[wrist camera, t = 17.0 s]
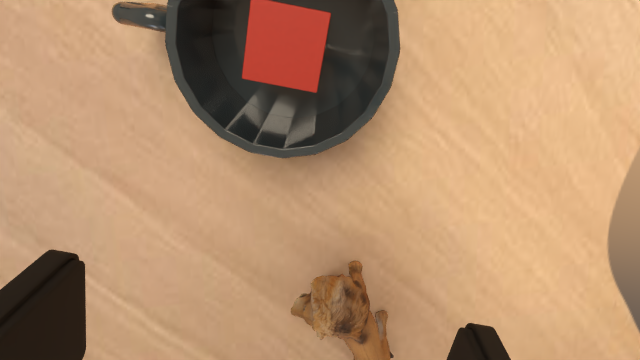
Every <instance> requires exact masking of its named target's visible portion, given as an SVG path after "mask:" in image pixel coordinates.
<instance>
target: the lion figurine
mask: <svg viewBox="0 0 640 360" xmlns="http://www.w3.org/2000/svg"><path fill="white" fill-rule="evenodd" d="M361 272H362V264H361V263H360V262H358V261H353V262H351V263H350V264H349V274H350V275H351V277H352V278H351V277H350V276H349V277H346V276H344V275H343V274H341V275H340V276H337V277H336V276H326V277H325V276H320V277H317V278H316V279H314V280H313V281H312V283H311V293H310V294H301V295H300V298H297V299H296V300H295V302H294V305H293V307H292V308H291V314H292V315H294V316H298V317H301V318H303V319H305V321H306V323H307V324H309V325H311V326H312V328H313V330H314V331H316V333H317V337H318V338H319V339H320V340H322V339H323V338H324V337H325V336H331V337H337V336H338V338H340V339H344V341H345V342H346V344H347V346H348V347H349V349H350V350H351V351H352V353H353V355H354V360H390V358H393V357H394V356H393V355H392V354H391V352H390V350H389V345H388V341H387V338H386V322H387V318H388V314H387V312H386V311H384V310H382V311H379V312H377V313H376V320H377V323H378V328H377V325H376V322H375V319H374V317H373V315H372V313H371V311H370V308H369V307H370V303H369V298H368V295H367V293H366V286H365V284H364V280H363V278H362V274H361Z"/></svg>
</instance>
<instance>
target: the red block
mask: <svg viewBox="0 0 640 360" xmlns="http://www.w3.org/2000/svg"><path fill="white" fill-rule="evenodd" d="M330 18H331V13H330V12H325V11H320V10H315V9H310V8H305V7H300V6H295V5H290V4H285V3H280V2H275V1H271V0H251V1H250V10H249V18H248V27H247V36H246V45H245V54H244V62H243V71H242V79H246V80H251V81H257V82H262V83H267V84H272V85H278V86H283V87H288V88H293V89H299V90H304V91H309V92H315V93H316V92H317V89H318V83H319V78H320V72H321V67H322V61H323V56H324V50H325V45H326V39H327V34H328V28H329V23H330Z"/></svg>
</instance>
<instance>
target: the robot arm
mask: <svg viewBox="0 0 640 360" xmlns="http://www.w3.org/2000/svg"><path fill="white" fill-rule="evenodd" d="M85 350H86V309H85V264H84V262H83V261H79V257H78V255H77V254H74V253H68V252H63V251H57V250H49V251H47V252H46V253H44V254H43V255H42V256H41V257H40V258H38V259H37V260H36V261H35V262H33V263H32V264H31V265H30V266H29V267H27V268H26V269H25V270H24V271H23V272H21V273H20V274H19V275H18V276H17V277H15V278H14V279H13V280H12V281H10V282H9V283H8V284H7V285H6V286H4V287H3V288H2V289H1V290H0V360H82V359H83V357H84V354H85ZM447 360H511V359H510V357H509V355H508V353H507V352H506V350H505V348H504V346H503V344H502V342H501V340H500V338H499V336H498V335H497V333H496V331H495V330H494V328H492V327H490V326H484V325H479V324H473V323H468V324H467V325H466V327H465V328H460V329H459V330H458V332H457V334H456V337H455V340H454V342H453V345H452V347H451V350H450V352H449V355H448V357H447Z"/></svg>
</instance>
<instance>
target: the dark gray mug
mask: <svg viewBox="0 0 640 360" xmlns="http://www.w3.org/2000/svg"><path fill="white" fill-rule="evenodd" d="M250 1H251V0H168V3H167V4H168V5H167V6H165V5H160V4H155V3H136V2H118V3H116V4H115V5H114V6H113V8H112V15H113V17H114V19H115V20H116V21H117V22H119V23H121V24H125V25H130V26H135V27H140V28H145V29H150V30H156V31H161V32H166V35H165V43H166V49H167V53H168V57H169V61H170V65H171V69H172V72H173V76H174V80H175V82H176V84H177V86H178V87H179V89H180V91H181V92H182V94H183V96H184V97H185V99H186V101H187V102H188V104H189V106H190V108H191V109H192V111H193V112H194V113H195V114H196V115H197V116H198V117H199V118H200V119H201V120H202V121H203V122H204V123H205V124H206V125H207V126H208V127H209V128H211V129H212V130H213V131H214V132H215V133H216V134H217V135H218V136H220V137H221V138H223V139H225V140H227V141H228V142H230V143H232V144H234V145H236V146H238V147H240V148H242V149H244V150H246V151H248V152H251V153H256V154H261V155H267V156H273V157H278V158H290V157H299V156H307V155H315V154H318V153H320V152H323V151H325V150H327V149H329V148H332V147H334V146H336V145H338V144H340V143H343V142H345V141H346V140H348V139H349V138H350V137H351V136H353V135H354V134H355V133H356V132H357V131H358V130H359V129H361V128H362V127H363V126H364V125H365V124H366V123H367V122H368V121H370V120H371V119H372V117H373V116H374V115H375V113H376V111H377V110H378V108H379V106H380V105H381V103H382V101H383V100H384V98H385V96H386V95H387V93H388V91H389V90H390V88H391V86H392V82H393V78H394V74H395V70H396V65H397V61H398V57H399V53H400V51H399V50H400V38H399V21H398V12H397V11H398V10H397V7H396V4H395V2H394V0H271V1H275V2H280V3H285V4H290V5H295V6H300V7H305V8H310V9H315V10H320V11H325V12H330V13H331V18H330V23H329V28H328V34H327V39H326V45H325V50H324V56H323V61H322V67H321V72H320V78H319V83H318V89H317V92H316V93H315V92H309V91H304V90H299V89H293V88H288V87H283V86H278V85H272V84H267V83H262V82H257V81H251V80H246V79H242V71H243V62H244V54H245V45H246V36H247V27H248V18H249V10H250Z"/></svg>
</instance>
